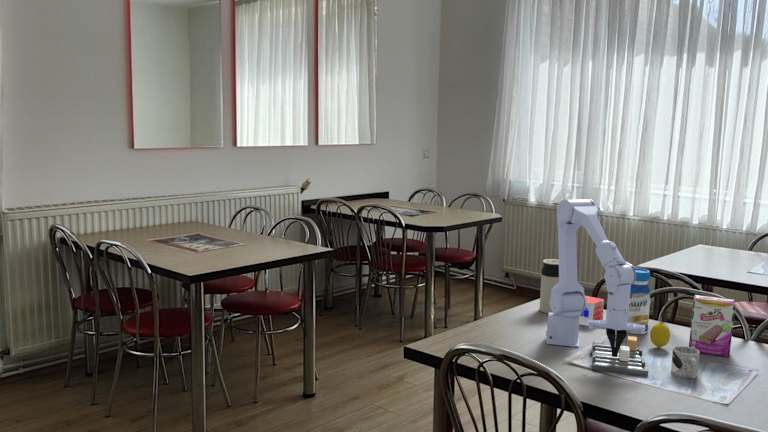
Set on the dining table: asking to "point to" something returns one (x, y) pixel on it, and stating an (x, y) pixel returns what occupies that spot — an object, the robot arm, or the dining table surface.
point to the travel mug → (548, 283)
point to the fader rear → (632, 343)
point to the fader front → (624, 353)
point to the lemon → (660, 335)
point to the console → (618, 361)
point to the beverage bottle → (640, 299)
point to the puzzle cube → (592, 310)
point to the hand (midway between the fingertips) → (614, 355)
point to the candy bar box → (712, 325)
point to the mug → (685, 362)
